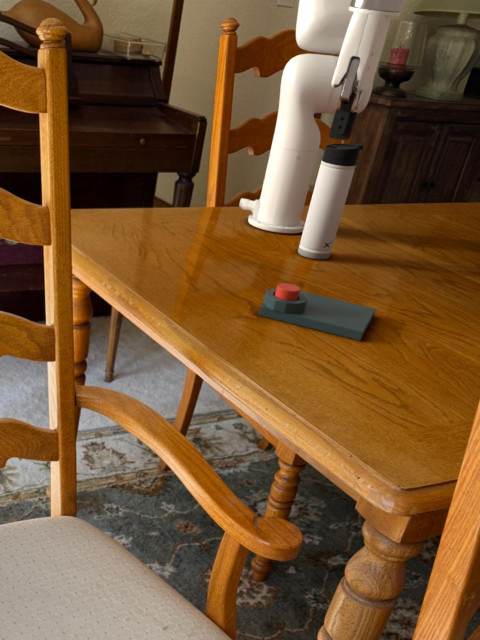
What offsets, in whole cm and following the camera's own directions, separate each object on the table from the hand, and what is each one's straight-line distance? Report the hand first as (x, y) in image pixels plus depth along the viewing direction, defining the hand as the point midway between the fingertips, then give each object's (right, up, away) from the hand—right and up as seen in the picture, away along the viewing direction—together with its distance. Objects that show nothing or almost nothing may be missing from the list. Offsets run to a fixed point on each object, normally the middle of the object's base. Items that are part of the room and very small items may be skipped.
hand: (339, 138), depth 120 cm
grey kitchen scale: (-5, -30, -3) cm, 31 cm away
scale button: (-10, -28, -5) cm, 31 cm away
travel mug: (+4, -10, +24) cm, 26 cm away
